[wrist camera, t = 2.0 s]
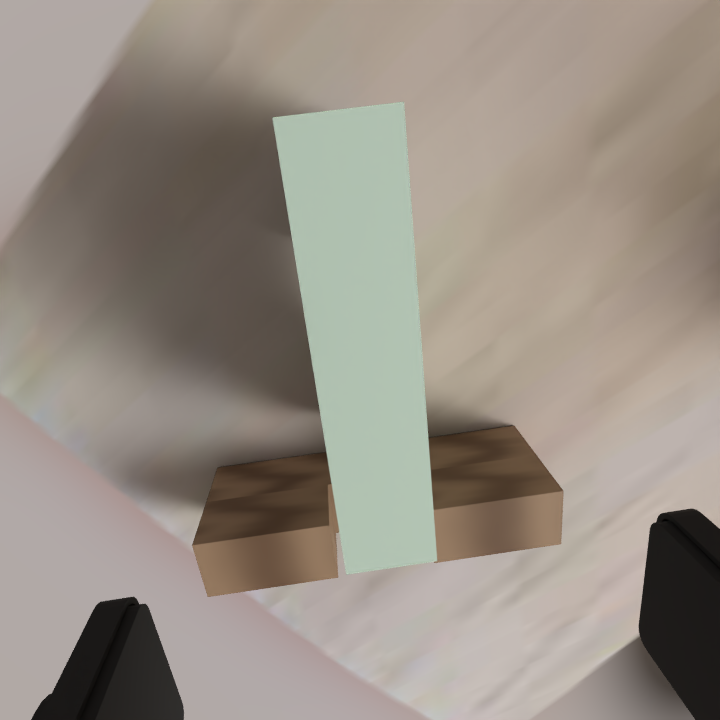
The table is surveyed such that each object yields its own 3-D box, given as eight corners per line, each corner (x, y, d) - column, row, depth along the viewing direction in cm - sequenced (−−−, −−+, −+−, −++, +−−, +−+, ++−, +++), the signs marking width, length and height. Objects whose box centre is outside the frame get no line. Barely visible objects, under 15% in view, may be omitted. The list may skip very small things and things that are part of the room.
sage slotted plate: (293, 139, 29) (272, 117, 15) (362, 131, 29) (403, 101, 15) (334, 414, 36) (346, 574, 22) (390, 406, 36) (437, 561, 22)
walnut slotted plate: (229, 512, 38) (207, 596, 31) (217, 467, 36) (192, 545, 29) (514, 470, 39) (561, 544, 31) (514, 425, 37) (563, 490, 30)
